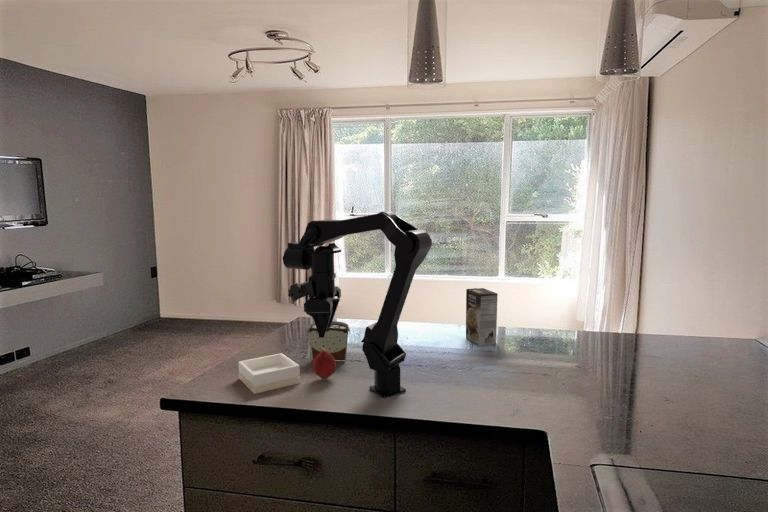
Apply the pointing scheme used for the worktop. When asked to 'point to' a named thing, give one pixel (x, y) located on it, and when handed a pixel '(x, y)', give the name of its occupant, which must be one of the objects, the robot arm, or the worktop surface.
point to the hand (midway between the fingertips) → (324, 332)
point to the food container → (330, 340)
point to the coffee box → (481, 316)
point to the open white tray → (269, 372)
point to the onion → (324, 364)
